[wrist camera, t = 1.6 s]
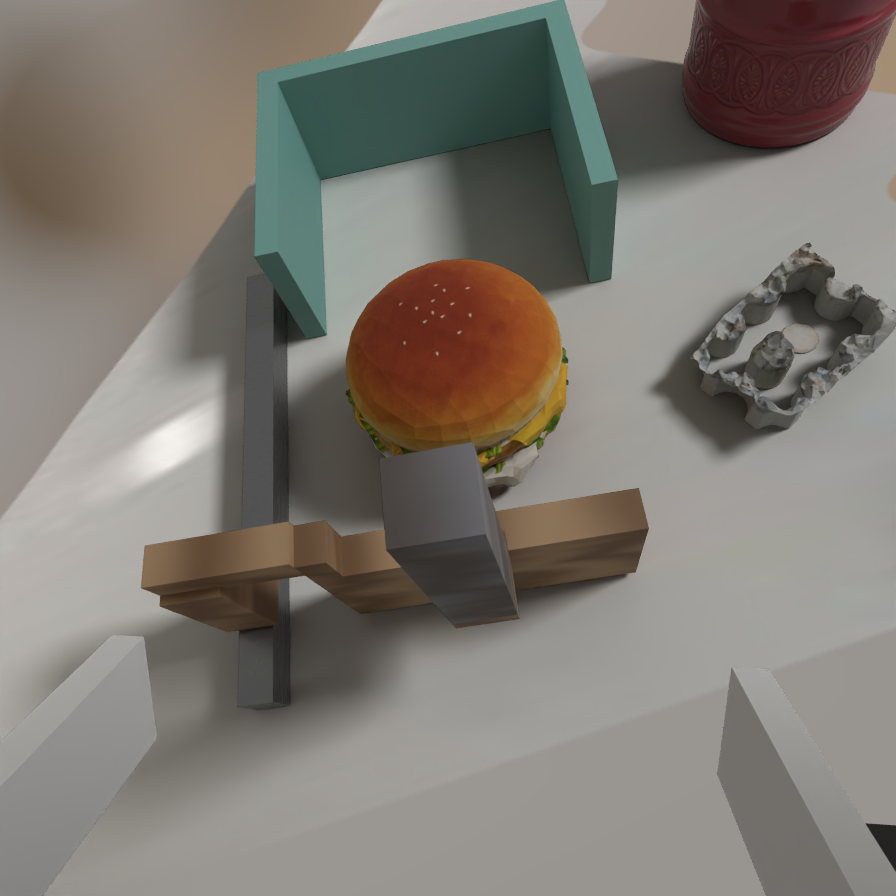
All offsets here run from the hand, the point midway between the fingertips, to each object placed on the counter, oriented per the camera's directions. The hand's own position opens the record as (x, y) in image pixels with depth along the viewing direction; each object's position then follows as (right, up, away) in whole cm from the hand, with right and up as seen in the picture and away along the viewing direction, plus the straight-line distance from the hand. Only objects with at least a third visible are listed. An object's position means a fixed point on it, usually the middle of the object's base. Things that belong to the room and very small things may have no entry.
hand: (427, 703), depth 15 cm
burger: (+2, +8, +30) cm, 31 cm away
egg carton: (+22, +11, +28) cm, 37 cm away
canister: (+25, +33, +37) cm, 55 cm away
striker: (0, -3, +24) cm, 24 cm away
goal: (0, +23, +37) cm, 44 cm away
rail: (-11, +4, +30) cm, 32 cm away
